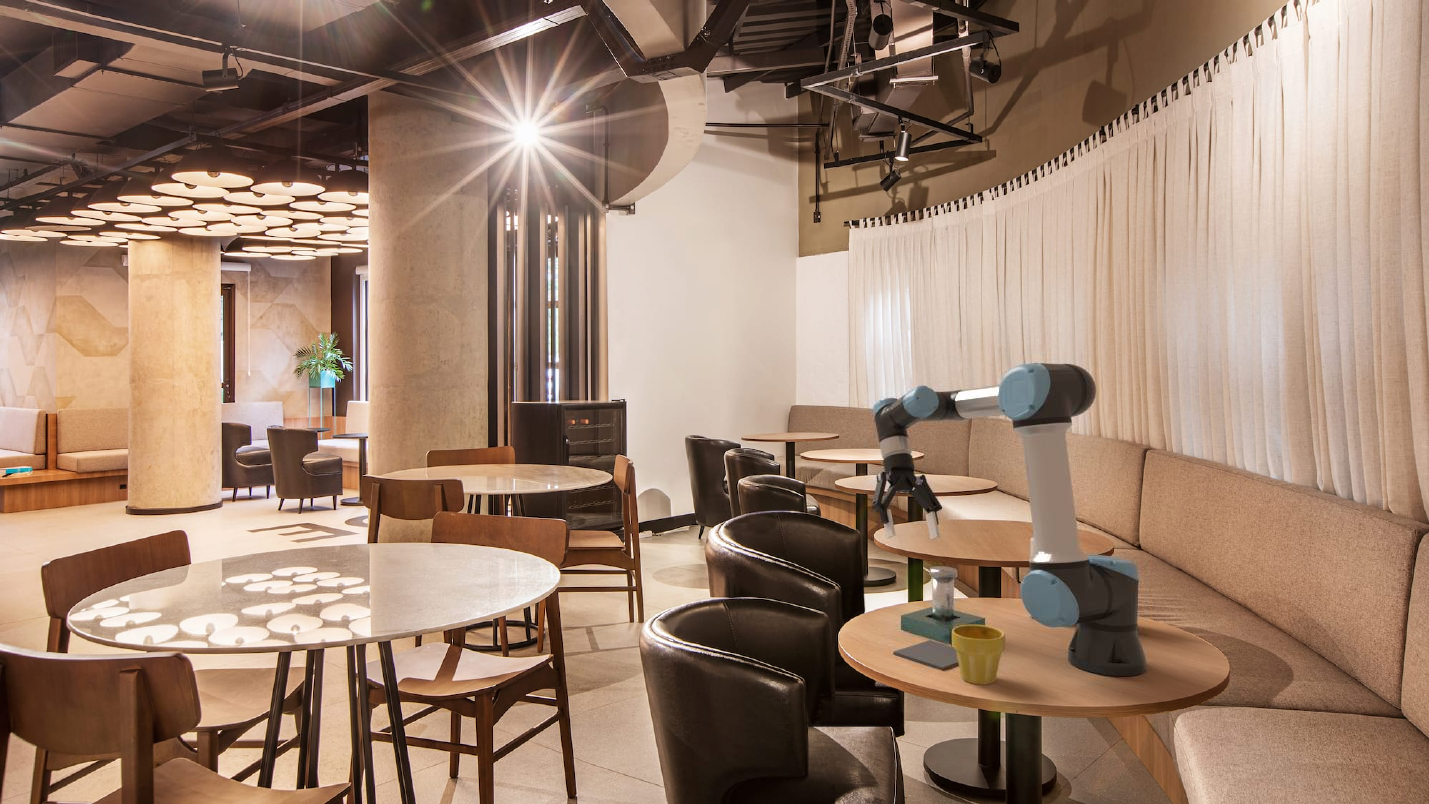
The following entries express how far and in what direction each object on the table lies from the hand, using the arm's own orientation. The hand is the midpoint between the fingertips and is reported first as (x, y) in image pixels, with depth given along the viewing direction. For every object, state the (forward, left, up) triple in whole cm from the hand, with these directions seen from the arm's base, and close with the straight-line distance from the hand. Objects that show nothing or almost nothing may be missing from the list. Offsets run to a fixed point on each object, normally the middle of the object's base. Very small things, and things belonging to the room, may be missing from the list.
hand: (913, 537), depth 209 cm
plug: (-8, -2, -22) cm, 23 cm away
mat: (-18, +14, -22) cm, 31 cm away
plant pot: (-32, +19, -22) cm, 43 cm away
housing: (-8, -2, -22) cm, 23 cm away
